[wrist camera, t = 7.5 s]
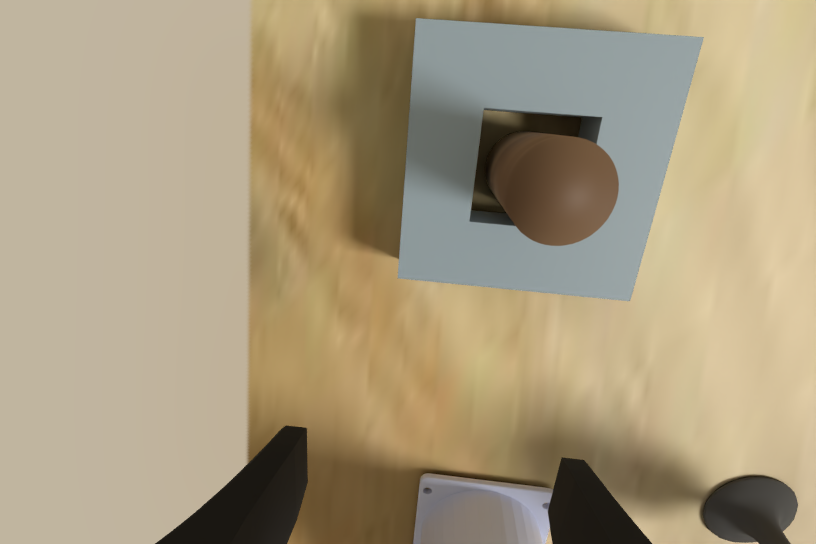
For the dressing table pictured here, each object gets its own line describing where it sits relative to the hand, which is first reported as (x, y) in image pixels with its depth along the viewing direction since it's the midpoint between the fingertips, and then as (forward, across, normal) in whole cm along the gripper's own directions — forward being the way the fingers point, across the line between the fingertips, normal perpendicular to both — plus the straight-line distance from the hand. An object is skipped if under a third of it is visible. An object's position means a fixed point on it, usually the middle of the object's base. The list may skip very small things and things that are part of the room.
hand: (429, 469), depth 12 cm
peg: (+10, -3, -7) cm, 13 cm away
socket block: (+10, -3, -8) cm, 13 cm away
